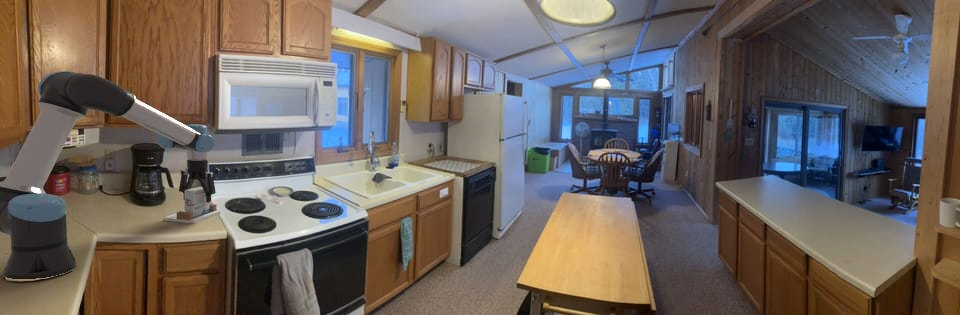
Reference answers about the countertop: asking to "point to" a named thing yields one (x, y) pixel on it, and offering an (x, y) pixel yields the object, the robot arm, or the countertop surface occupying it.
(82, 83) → the robot arm
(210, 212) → the board
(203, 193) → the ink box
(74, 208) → the countertop surface
